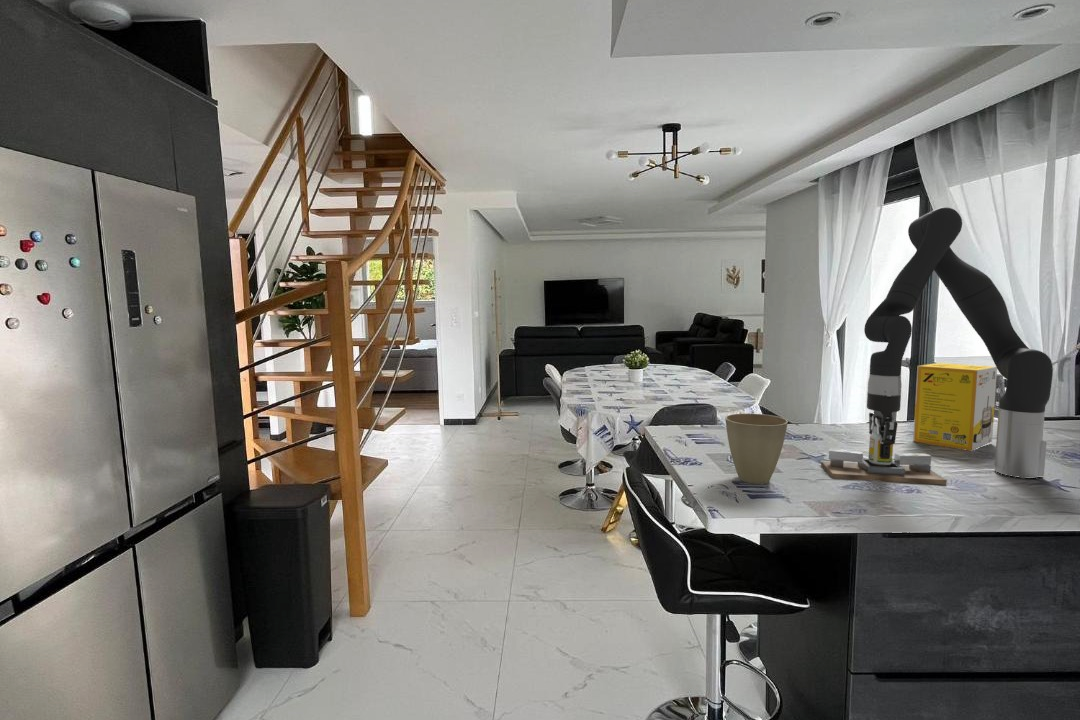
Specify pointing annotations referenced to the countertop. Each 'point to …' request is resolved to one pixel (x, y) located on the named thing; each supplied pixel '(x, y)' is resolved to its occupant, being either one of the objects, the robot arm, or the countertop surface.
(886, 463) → the supplement bottle
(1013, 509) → the countertop surface
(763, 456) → the plant pot
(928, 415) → the packaging box
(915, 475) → the walnut base board
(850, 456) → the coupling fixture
